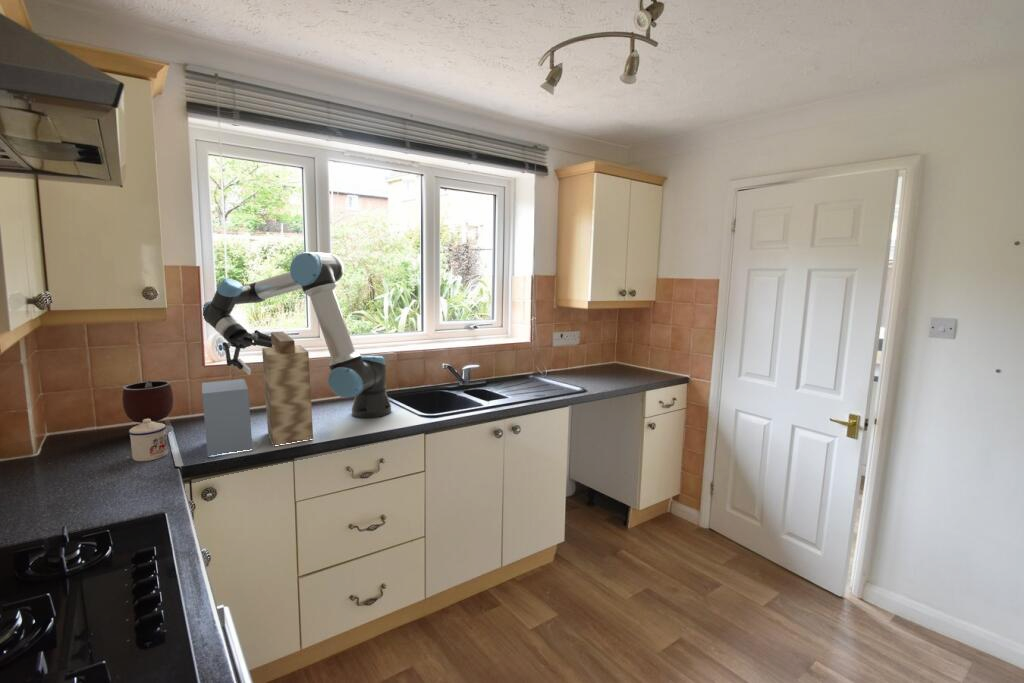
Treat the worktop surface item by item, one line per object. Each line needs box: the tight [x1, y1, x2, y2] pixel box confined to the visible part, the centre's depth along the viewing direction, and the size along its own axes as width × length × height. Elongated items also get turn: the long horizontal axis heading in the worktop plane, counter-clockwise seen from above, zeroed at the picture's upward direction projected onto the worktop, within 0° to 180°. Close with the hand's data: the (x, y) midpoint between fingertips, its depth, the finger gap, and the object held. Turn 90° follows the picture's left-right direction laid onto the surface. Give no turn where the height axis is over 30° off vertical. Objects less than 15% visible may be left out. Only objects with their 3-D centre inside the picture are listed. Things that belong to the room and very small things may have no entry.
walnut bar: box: [270, 331, 296, 354], centre depth 167 cm, size 4×26×4 cm, turn 32°
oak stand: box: [261, 345, 314, 446], centre depth 165 cm, size 12×16×30 cm
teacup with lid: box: [128, 419, 169, 462], centre depth 150 cm, size 12×9×12 cm
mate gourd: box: [122, 380, 174, 434], centre depth 169 cm, size 16×14×20 cm
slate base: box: [201, 378, 254, 457], centre depth 157 cm, size 12×16×20 cm
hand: (267, 364), depth 181 cm, fingers open, 13 cm apart
